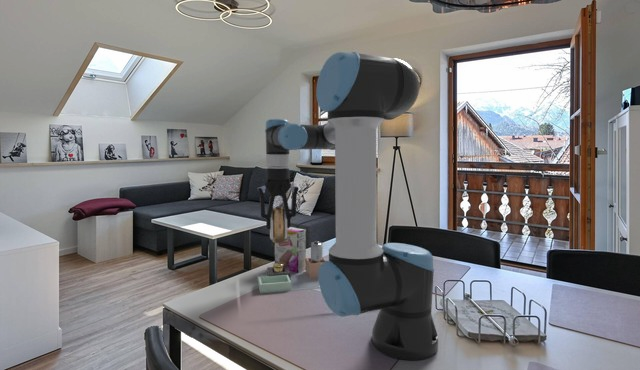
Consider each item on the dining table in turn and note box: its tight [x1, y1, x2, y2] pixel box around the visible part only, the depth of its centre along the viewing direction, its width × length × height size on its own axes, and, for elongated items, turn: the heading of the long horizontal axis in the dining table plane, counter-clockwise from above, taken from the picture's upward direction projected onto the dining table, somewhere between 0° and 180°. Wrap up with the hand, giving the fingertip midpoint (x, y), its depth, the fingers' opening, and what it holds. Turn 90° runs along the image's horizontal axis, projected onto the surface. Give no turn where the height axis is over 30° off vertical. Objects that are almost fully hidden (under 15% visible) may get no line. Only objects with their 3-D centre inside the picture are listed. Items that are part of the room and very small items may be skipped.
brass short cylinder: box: [272, 262, 284, 272], centre depth 126 cm, size 4×4×4 cm
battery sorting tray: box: [256, 256, 327, 295], centre depth 124 cm, size 16×24×6 cm, turn 104°
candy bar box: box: [273, 226, 307, 273], centre depth 136 cm, size 11×5×16 cm, turn 57°
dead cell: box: [310, 240, 323, 263], centre depth 130 cm, size 4×4×12 cm
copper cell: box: [271, 206, 285, 243], centre depth 124 cm, size 4×4×12 cm
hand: (278, 237), depth 124 cm, fingers closed on copper cell, 4 cm apart
